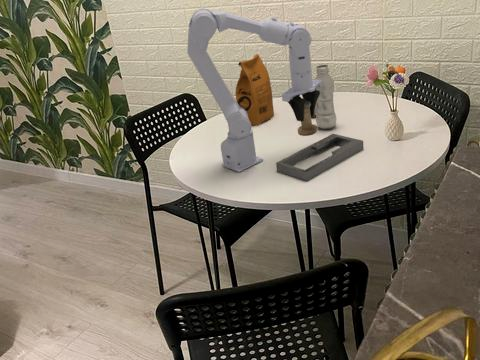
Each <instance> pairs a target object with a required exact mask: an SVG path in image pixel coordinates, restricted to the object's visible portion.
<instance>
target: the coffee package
mask: <svg viewBox="0 0 480 360" xmlns="http://www.w3.org/2000/svg"><path fill="white" fill-rule="evenodd" d="M237 65H238V66H239V67H240V68H241V70H240V72H239V73H240V74H239V78H238V80H237V83H236V87H235V100H236V102H237V103H238V105H239V106H240V107H241V108H243V109H244V110H245V111H246V112H247V114H248V119H249V121H250V123H251V126H260V125H261V124H262V123H263V122H268V121H269V120H270V119H271V118H272V117H273V116H274V115H275V111H274V102H273V90H272V84H271V79H270V76H269V71H268V69H267V67H266V65H265V64H264V62H263V60H262V59H261V57H260V55H259V54H258V53H256V54H255V55H254V56H253V58H252V59H248V60H247V59H246V60H242V61H239V62H238V64H237Z"/></svg>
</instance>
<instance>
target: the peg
mask: <svg viewBox="0 0 480 360" xmlns="http://www.w3.org/2000/svg"><path fill="white" fill-rule="evenodd" d="M310 106H311V102H310V101H305V104H304V121H302V122H301V121H300V124H301V125H300V126H299V127H298V128H297V134H298V136H302V137H308V136H312V135H314V134H316V133H317V132H318V126H317V124H314V123H313V122H312V118H311V113H310Z"/></svg>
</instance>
